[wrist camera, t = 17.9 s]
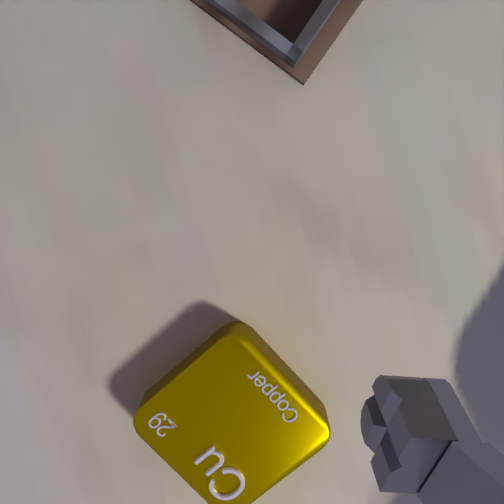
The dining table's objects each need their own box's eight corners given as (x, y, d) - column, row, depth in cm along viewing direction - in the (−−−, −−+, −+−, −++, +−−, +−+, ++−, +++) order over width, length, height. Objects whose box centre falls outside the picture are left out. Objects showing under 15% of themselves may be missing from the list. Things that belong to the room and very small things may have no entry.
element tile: (334, 413, 50) (340, 439, 45) (230, 494, 52) (226, 527, 48) (238, 311, 48) (235, 328, 43) (135, 400, 51) (121, 425, 46)
